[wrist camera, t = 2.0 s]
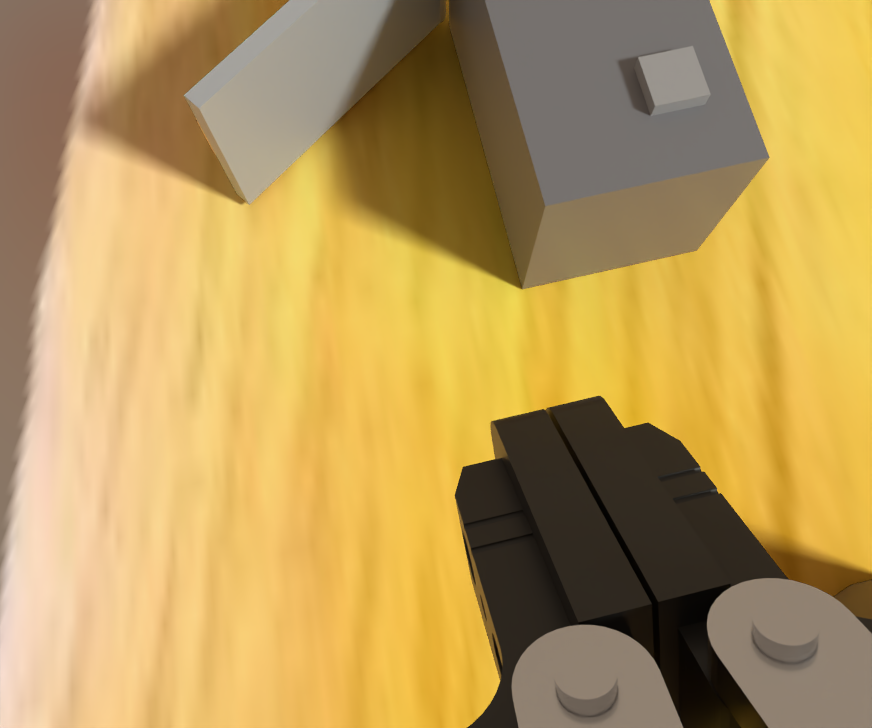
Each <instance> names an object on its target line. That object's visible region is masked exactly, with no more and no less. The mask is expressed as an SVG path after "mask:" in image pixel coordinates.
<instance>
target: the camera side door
mask: <svg viewBox="0 0 872 728" xmlns="http://www.w3.org/2000/svg"><path fill="white" fill-rule="evenodd" d="M445 18H446V0H289V1H288V2H287V3H286V4H285V5H284V6H283V7H282V8H280V9H279V10H278V11H277V12H276V13H275V14H274V15H273V16H272V17H270V18H269V19H268V20H267V21H266V22H265V23H264V24H263V25H262V26H260V27H259V28H258V29H257V30H256V31H255V32H254V33H253V34H251V35H250V36H249V37H248V38H247V39H246V40H245V41H244V42H243V43H241V44H240V45H239V46H238V47H237V48H236V49H235V50H234V51H233V52H231V53H230V54H229V55H228V56H227V57H226V58H225V59H224V60H223V61H221V62H220V63H219V64H218V65H217V66H216V67H215V68H214V69H212V70H211V71H210V72H209V73H208V74H207V75H206V76H205V77H204V78H202V79H201V80H200V81H199V82H198V83H197V84H196V85H195V86H194V87H192V88H191V89H190V90H189V91H188V92H187V93H186V94H185V95H184V97H185V99H186V101H187V102H188V104H189V106H190V108H191V110H192V112H193V114H194V115H195V117H196V119H197V120H196V121H197V123H198V125H199V127H200V129H201V130H202V132H203V134H204V136H205V138H206V140H207V142H208V143H209V145H210V147H211V149H212V151H213V152H214V153H215V154H216V156H217V158H218V160H219V162H220V164H221V166H222V167H223V169H224V171H225V173H226V175H227V177H228V179H229V180H230V182H231V184H232V186H233V188H234V190H235V192H236V193H237V195H239V196H240V197H241V198H242V199H243V200H244V201H245V202H247V203H248V204H249V205H250V204H251V203H252V202H253V201H254V200H255V199H256V198H257V197H258V196H259V195H260V194H261V193H262V192H263V191H264V190H265V189H266V188H268V187H269V186H270V185H271V184H272V183H273V182H274V181H275V180H276V179H277V178H278V177H279V176H280V175H281V174H282V173H283V172H284V171H285V170H286V169H287V168H288V167H290V166H291V165H292V164H293V163H294V162H295V161H296V160H297V159H298V158H299V157H300V156H301V155H302V154H303V153H304V152H305V151H306V150H307V149H308V148H309V147H310V146H312V145H313V144H314V143H315V142H316V141H317V140H318V139H319V138H320V137H321V136H322V135H323V134H324V133H325V132H326V131H327V130H328V129H329V128H330V127H331V126H332V125H334V124H335V123H336V122H337V121H338V120H339V119H340V118H341V117H342V116H343V115H344V114H345V113H346V112H347V111H348V110H349V109H350V108H351V107H352V106H353V105H354V104H356V103H357V102H358V101H359V100H360V99H361V98H362V97H363V96H364V95H365V94H366V93H367V92H368V91H369V90H370V89H371V88H372V87H373V86H374V85H375V84H377V83H378V82H379V81H380V80H381V79H382V78H383V77H384V76H385V75H386V74H387V73H388V72H389V71H390V70H391V69H392V68H393V67H394V66H395V65H396V64H397V63H399V62H400V61H401V60H402V59H403V58H404V57H405V56H406V55H407V54H408V53H409V52H410V51H411V50H412V49H413V48H414V47H415V46H416V45H417V44H418V43H419V42H421V41H422V40H423V39H424V38H425V37H426V36H427V35H428V34H429V33H430V32H431V31H432V30H433V29H434V28H435V27H436V26H437V25H438V24H439V23H441V22H443V21H444V20H445Z"/></svg>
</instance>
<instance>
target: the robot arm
mask: <svg viewBox="0 0 872 728" xmlns="http://www.w3.org/2000/svg"><path fill="white" fill-rule="evenodd" d="M491 435H492V441H493V447H494V454H495V459H494V460H490V461H486V462H482V463H478V464H473V465H469V466H465V467H463V469H462V472H461V476H460V479H459V483H458V486H457V489H456V493H455V499H456V504H457V509H458V514H459V519H460V524H461V529H462V534H463V539H464V544H465V549H466V555H467V560H468V565H469V570H470V575H471V580H472V583H473V587H474V590H475V594H476V597H477V601H478V604H479V608H480V610H481V614H482V618H483V622H484V625H485V629H486V632H487V636H488V639H489V643H490V646H491V650H492V653H493V657H494V660H495V664H496V667H497V671H498V674H499V678H500V684H499V687H498V690H497V692H496V694H495V696H494V698H493V700H492V702H491V703H490V705H489V706H488V707H487V709H486V710H485V711H484V713H483V714H482V715H481V716H480V717H479V718H478V719H477V720H476V721H475V722H474V723H473V724H471V725H470V726H469V727H467V728H872V619H867V618H862V617H857V616H854V614H853V613H852V612H851V611H850V610H849V609H847V608H846V607H845V606H844V605H843V604H842V603H841V602H839V601H838V600H836V599H835V598H834V597H832V596H831V595H829V594H827V593H825V592H823V591H821V590H820V589H818V588H815V587H812V586H810V585H807V584H804V583H800V582H797V581H793V580H789V579H788V578H787V577H786V576H785V575H784V573H783V572H782V571H781V569H780V568H779V567H778V566H777V564H776V563H775V562H774V560H773V559H772V558H771V557H770V555H769V554H768V553H767V552H766V550H765V549H764V548H763V546H762V545H761V544H760V543H759V541H758V540H757V539H756V537H755V536H754V535H753V534H752V532H751V531H750V530H749V528H748V527H747V526H746V525H745V523H744V522H743V521H742V520H741V518H740V517H739V516H738V514H737V513H736V512H735V511H734V509H733V508H732V507H731V505H730V504H729V503H728V502H727V500H726V499H725V498H724V496H723V495H722V494H721V493H720V494H718V492H717V487H716V486H715V485H714V484H713V482H712V481H711V480H710V479H709V477H708V476H707V475H706V473H705V472H701V469H700V466H699V464H698V463H697V462H696V461H695V459H694V458H693V457H692V455H691V454H690V453H689V452H688V450H687V449H686V448H685V447H684V445H683V444H682V443H681V441H679V440H678V439H676V438H674V437H672V436H671V435H669V434H667V433H665V432H664V431H662V430H660V429H658V428H657V427H655V426H653V425H651V424H649V423H645V424H641V425H636V426H632V427H628V428H624V427H623V426H622V424H621V423H620V421H619V420H618V419H617V417H616V416H615V414H614V413H613V411H612V410H611V408H610V407H609V405H608V404H607V403H606V401H605V400H604V399H603V398H602V397H601V396H596V397H592V398H588V399H583V400H579V401H575V402H571V403H566V404H562V405H558V406H554V407H549V408H547V409H546V411H545V410H544V409H542V410H538V411H533V412H529V413H525V414H521V415H516V416H512V417H508V418H503V419H499V420H495V421H491Z"/></svg>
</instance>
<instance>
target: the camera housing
mask: <svg viewBox="0 0 872 728" xmlns="http://www.w3.org/2000/svg"><path fill="white" fill-rule="evenodd" d="M449 27H450V30H451V34H452V38H453V41H454V45H455V48H456V52H457V56H458V59H459V63H460V66H461V70H462V74H463V77H464V81H465V84H466V88H467V92H468V95H469V99H470V102H471V106H472V110H473V113H474V117H475V120H476V124H477V128H478V131H479V135H480V139H481V142H482V146H483V149H484V153H485V157H486V160H487V164H488V167H489V171H490V175H491V178H492V182H493V185H494V189H495V193H496V196H497V200H498V203H499V207H500V211H501V214H502V218H503V221H504V225H505V229H506V232H507V236H508V239H509V243H510V247H511V250H512V254H513V258H514V261H515V265H516V268H517V272H518V276H519V279H520V283H521V286H522V289H525V288H530V287H534V286H539V285H543V284H548V283H552V282H557V281H561V280H566V279H570V278H575V277H579V276H584V275H588V274H593V273H597V272H602V271H606V270H611V269H615V268H620V267H624V266H629V265H633V264H638V263H642V262H647V261H651V260H656V259H660V258H665V257H670V256H674V255H679V254H683V253H688V252H692V251H697V250H698V248H699V247H700V246H701V244H702V243H703V242H704V241H705V239H706V238H707V237H708V236H709V234H710V233H711V232H712V230H713V229H714V228H715V227H716V225H717V224H718V223H719V221H720V220H721V219H722V218H723V216H724V215H725V214H726V212H727V211H728V210H729V209H730V207H731V206H732V205H733V204H734V202H735V201H736V200H737V198H738V197H739V196H740V195H741V193H742V192H743V191H744V189H745V188H746V187H747V186H748V184H749V183H750V182H751V180H752V179H753V178H754V177H755V175H756V174H757V173H758V171H759V170H760V169H761V168H762V166H763V165H764V164H765V163H766V161H767V160H768V159H769V155H768V153H767V150H766V147H765V145H764V142H763V140H762V137H761V134H760V132H759V129H758V127H757V124H756V121H755V119H754V116H753V113H752V111H751V108H750V106H749V103H748V100H747V98H746V95H745V93H744V90H743V87H742V85H741V82H740V80H739V77H738V74H737V72H736V69H735V67H734V64H733V61H732V59H731V56H730V54H729V51H728V48H727V46H726V43H725V40H724V38H723V35H722V33H721V30H720V27H719V25H718V22H717V20H716V17H715V14H714V12H713V9H712V7H711V4H710V1H709V0H449Z"/></svg>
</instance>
